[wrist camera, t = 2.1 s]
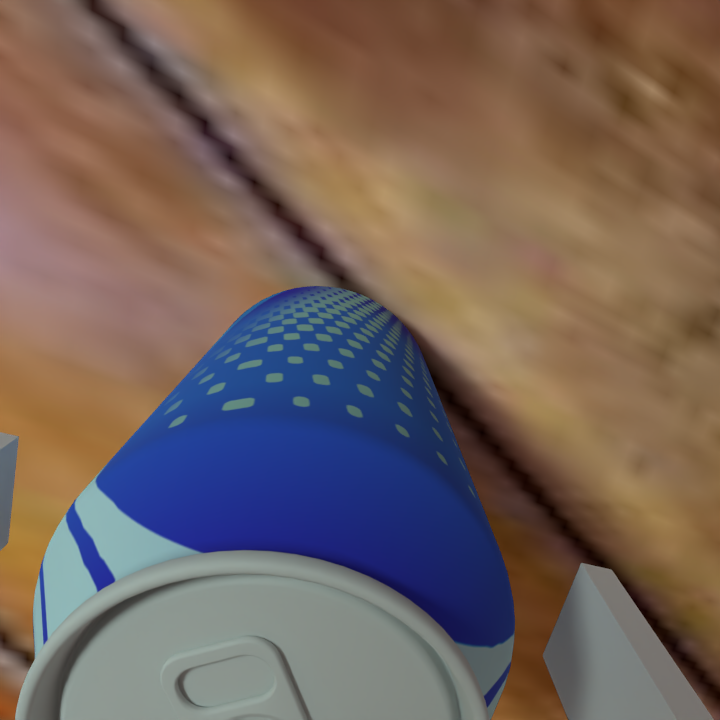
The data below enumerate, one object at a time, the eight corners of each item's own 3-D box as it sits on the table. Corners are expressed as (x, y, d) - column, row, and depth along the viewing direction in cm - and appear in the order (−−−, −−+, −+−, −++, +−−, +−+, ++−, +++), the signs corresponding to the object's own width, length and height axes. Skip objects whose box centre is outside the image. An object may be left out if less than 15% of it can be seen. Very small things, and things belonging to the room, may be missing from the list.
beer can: (460, 329, 23) (680, 630, 7) (376, 503, 25) (408, 1015, 9) (258, 246, 22) (21, 390, 6) (190, 435, 24) (-109, 884, 8)
